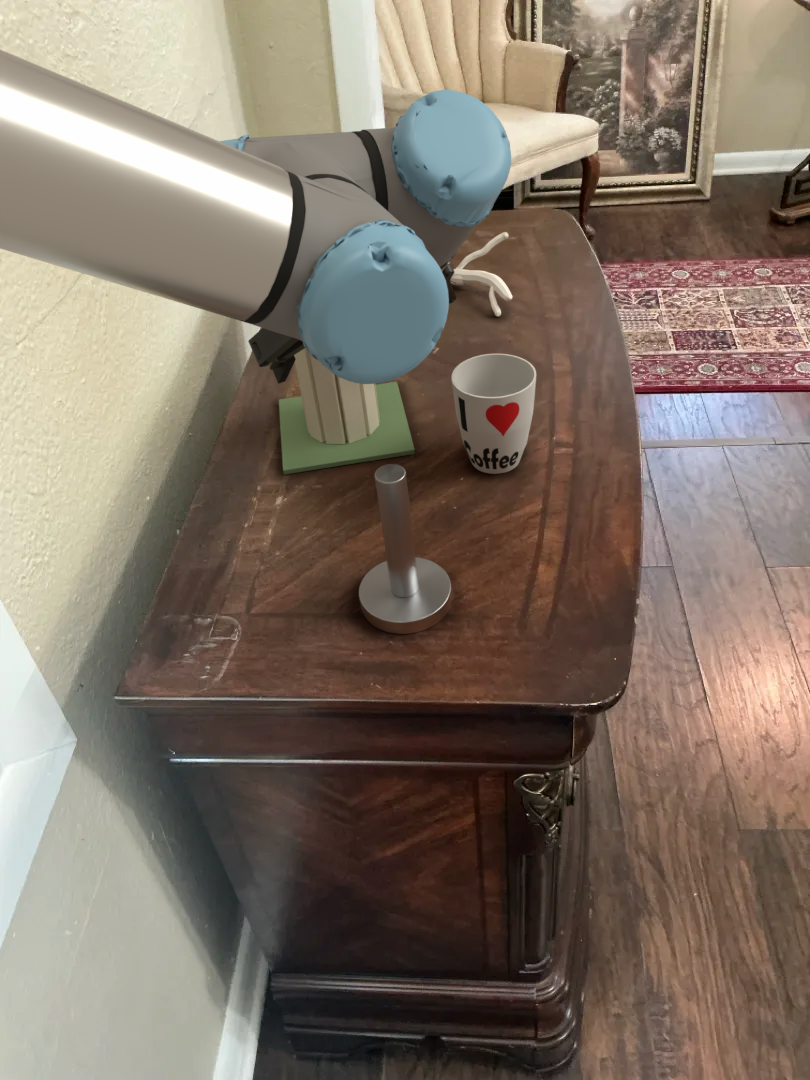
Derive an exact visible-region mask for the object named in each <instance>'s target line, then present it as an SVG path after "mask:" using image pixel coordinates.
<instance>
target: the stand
mask: <svg viewBox="0 0 810 1080" xmlns="http://www.w3.org/2000/svg"><path fill="white" fill-rule="evenodd" d="M407 480H408V479H407V471H406V469H405V468H404V467H403V466H401V465H400V464H395V463H388V464H384V465H381V466H380V467H378V468H377V469H376V470H375V472H374V481H375V488H376V495H377V502H378V509H379V517H380V524H381V530H382V537H383V544H384V551H385V558H386V560H384V561H382V562H380V563H379V564H377V565H375V566H373V567H372V568H370V570H369V571H368V572H367V573H366V574H365V575H364V576H363V578H362V580H361V581H360V584H359V587H358V599H359V604H360V610H361V612H362V614H363V617H364V618H365V619H366V621H367V622H368V623H370V624H371V625H372V626H373V627H375V628H376V629H378V630H381V631H382V632H386V633H390V634H396V635H409V634H415V633H419V632H422V631H425V630H428V629H430V628H432V627H433V626H435V625H437V624H438V623H439V622H440V621H442V620H443V619H444V618H445V617H446V615H447V614H448V612H449V610H450V608H451V606H452V601H453V593H452V583H451V579H450V576H449V575H448V573H447V572H446V571H445V569H444V568H443V567H442V566H441V565H439V564H437V563H436V562H434V561H432V560H431V559H427V558H423V557H419V556H416V551H415V544H414V542H415V541H414V535H413V523H412V517H411V515H412V514H411V508H410V507H411V506H410V499H409V489H408V481H407Z"/></svg>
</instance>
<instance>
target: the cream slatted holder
mask: <svg viewBox="0 0 810 1080" xmlns="http://www.w3.org/2000/svg"><path fill="white" fill-rule="evenodd" d="M294 356H295V359H296V360H295V362H294V368H295V374H296V378H297V383H298V388H299V393H300V396H301V399H302V404H303V409H304V414H305V419H306V424H307V429H308V433H309V434H310V436H311V437H313V438H315V439H316V440H318V441H320V442H322V443H323V442H325V441H326V444H345V442H346V440H347V441H348V443H349V444H350V443H353V442H355V441H358V440H361V439H364V438H366V437H367V436H366V435H371V434H372V433H373V432H374V431H375V429H376V428H377V427H378V426H379V423H380V416H379V408H378V401H377V393H376V385H377V384H359V383H354V382H350V381H347V380H345V379H343V378H340V377H338V376H336V375H335V374H333V373H332V372H331V371H330V370H329V369H327V368H326V367H325V366H324V365H323V364H322V363H321V362H320V361H318V360H317V359H315V358H314V357H312V356H311V355H310V354H309V353H308V351H307V350H306V348H304V349H303V350H301V351H300V352H298V353H297V354H295V355H294Z"/></svg>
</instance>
